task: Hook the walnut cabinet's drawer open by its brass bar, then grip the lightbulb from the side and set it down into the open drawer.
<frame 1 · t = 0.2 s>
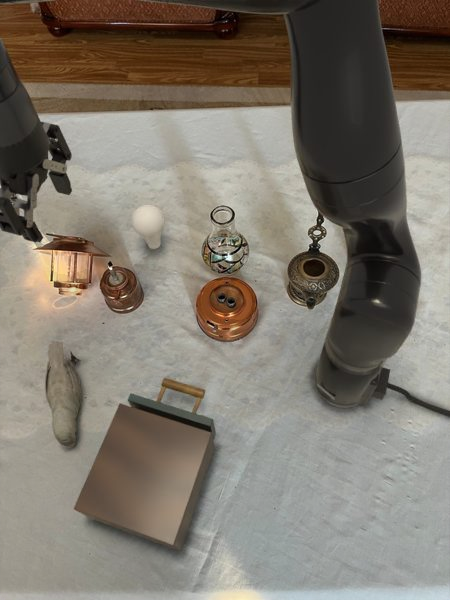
hand: (50, 214, 72), 29 cm above the table, tool pointing down, fingers open, 8 cm apart
drawer: (163, 442, 80), point 5 cm above the table, slide at 1.0 cm
decorative bird: (70, 402, 89), on the table
lightbulb: (155, 246, 104), on the table
cabinet: (155, 482, 82), on the table
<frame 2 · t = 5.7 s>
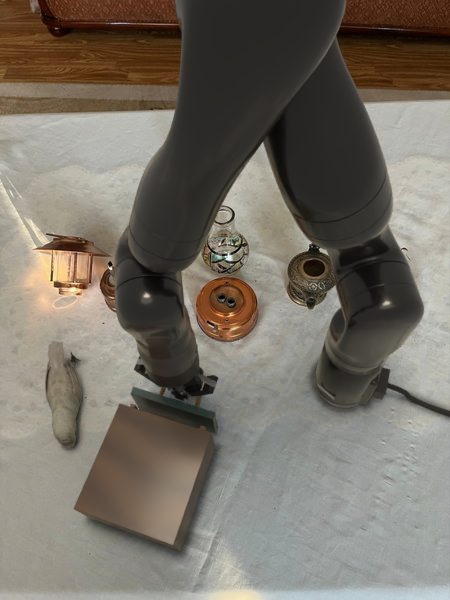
hand: (182, 394, 84), 4 cm above the table, tool pointing down, fingers closed
drawer: (165, 436, 80), point 5 cm above the table, slide at 2.1 cm, touching gripper
everything else where it was.
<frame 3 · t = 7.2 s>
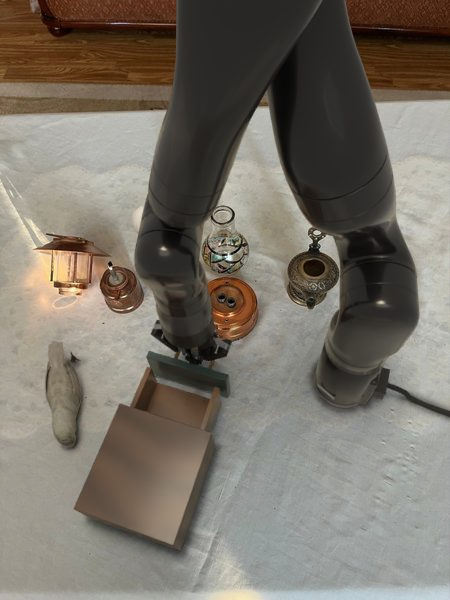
hand: (195, 360, 87), 4 cm above the table, tool pointing down, fingers closed
drawer: (180, 398, 83), point 5 cm above the table, slide at 8.4 cm, touching gripper
everything else where it was.
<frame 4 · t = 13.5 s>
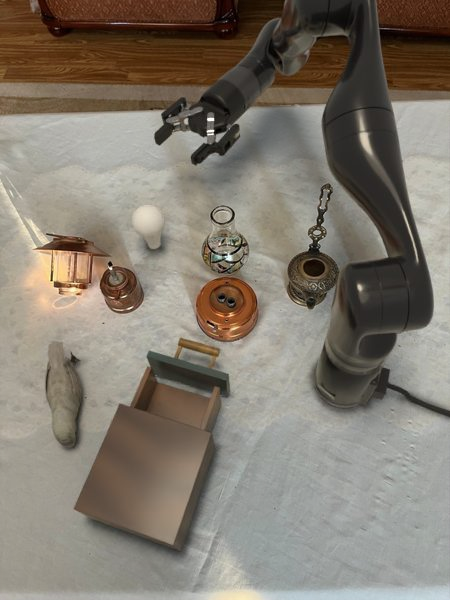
hand: (174, 151, 92), 18 cm above the table, tool horizontal, fingers open, 8 cm apart
drawer: (180, 397, 83), point 5 cm above the table, slide at 8.5 cm
everything else where it was.
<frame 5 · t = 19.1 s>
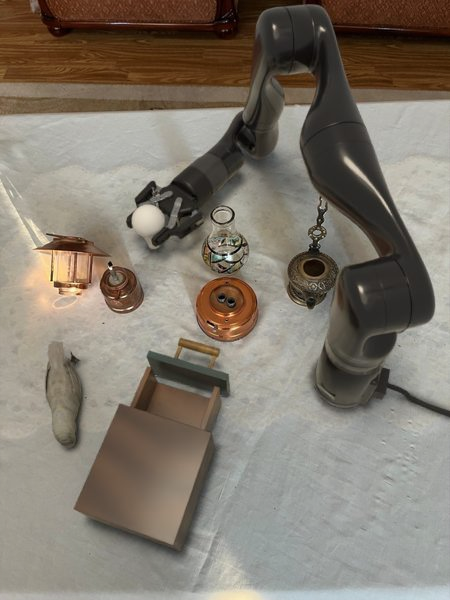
hand: (140, 233, 98), 7 cm above the table, tool horizontal, fingers closed on lightbulb, 6 cm apart
lightbulb: (155, 246, 104), on the table, touching gripper
everything else where it was.
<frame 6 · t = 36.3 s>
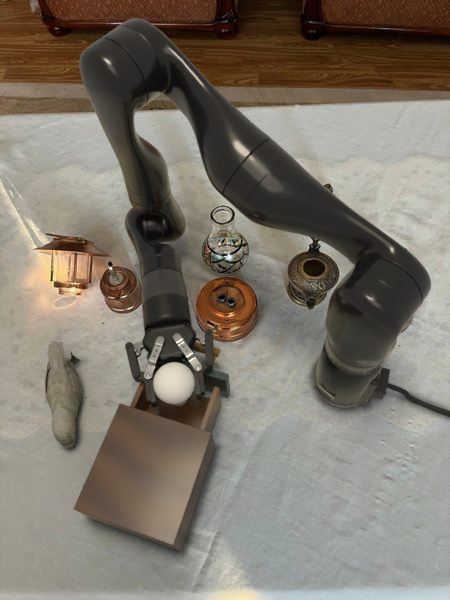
hand: (177, 401, 77), 10 cm above the table, tool horizontal, fingers closed on lightbulb, 6 cm apart
lightbulb: (180, 400, 84), point 4 cm above the table, touching gripper
everything else where it was.
when the fingers open (14 cm above the table, at t = 53.8 s): lightbulb drops 5 cm, resting on drawer.
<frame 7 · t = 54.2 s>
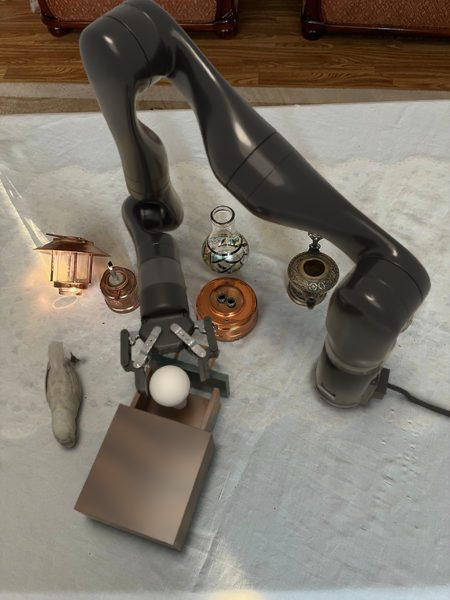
hand: (174, 390, 74), 14 cm above the table, tool horizontal, fingers open, 8 cm apart
drawer: (179, 398, 83), point 5 cm above the table, slide at 8.3 cm, touching lightbulb
lightbulb: (180, 404, 86), point 2 cm above the table, touching drawer
everything else where it was.
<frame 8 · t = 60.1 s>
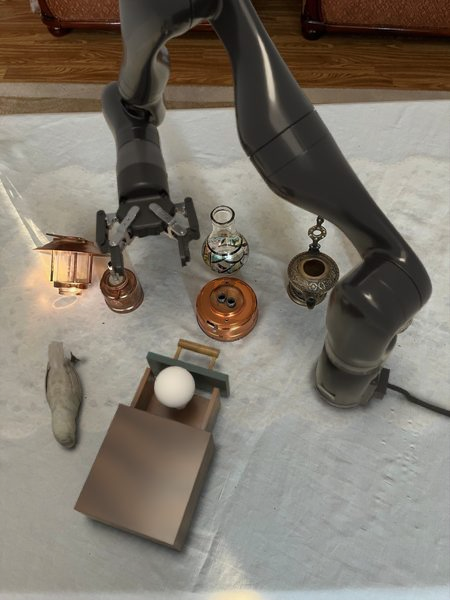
hand: (152, 268, 70), 26 cm above the table, tool horizontal, fingers open, 8 cm apart
nothing on the table moved.
at the end: drawer slide at 8.3 cm; lightbulb inside the target area in the cabinet (7.1 cm from its centre), point 1.8 cm above the cabinet's base; the gripper is holding nothing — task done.
